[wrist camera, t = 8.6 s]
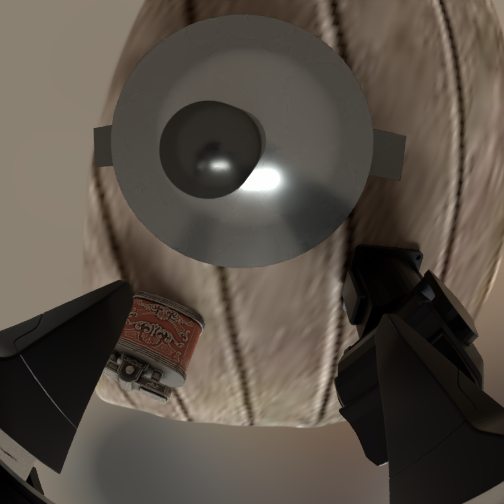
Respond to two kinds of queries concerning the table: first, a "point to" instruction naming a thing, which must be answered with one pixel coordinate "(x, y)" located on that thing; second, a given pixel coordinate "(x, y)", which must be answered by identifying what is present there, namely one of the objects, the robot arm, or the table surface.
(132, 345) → the lighter
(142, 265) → the table surface
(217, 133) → the lid
